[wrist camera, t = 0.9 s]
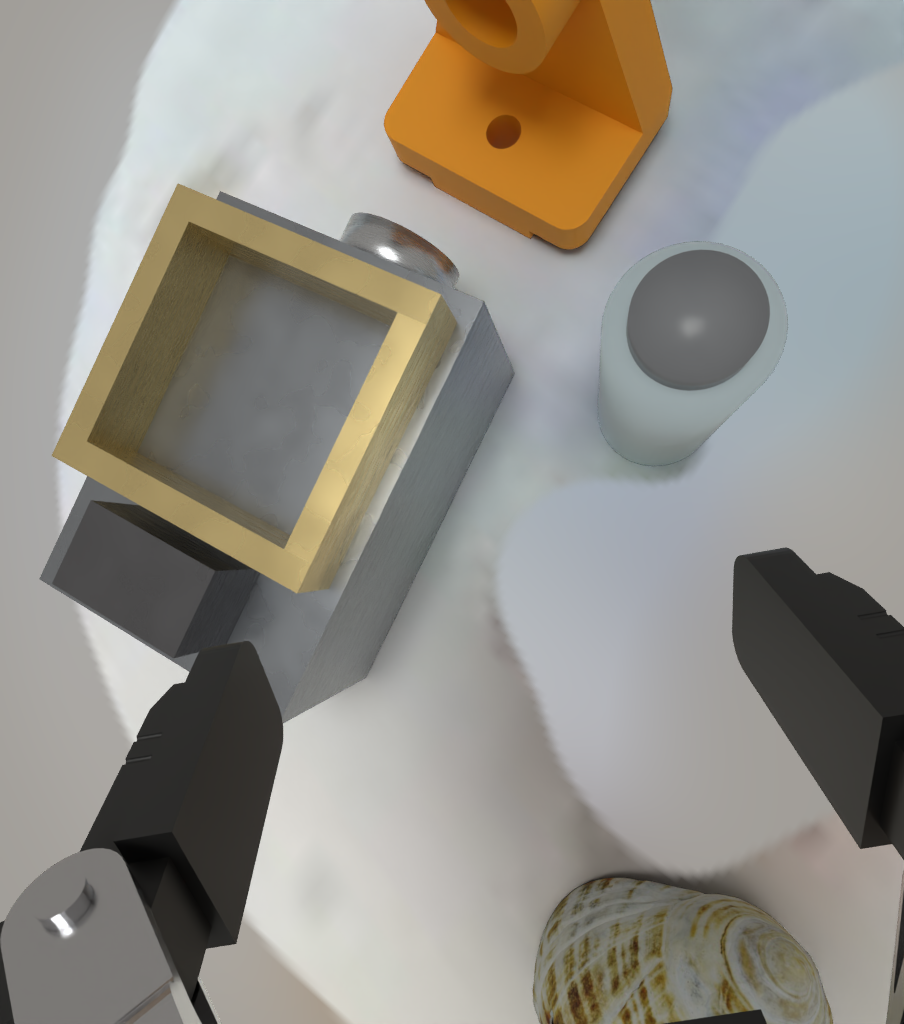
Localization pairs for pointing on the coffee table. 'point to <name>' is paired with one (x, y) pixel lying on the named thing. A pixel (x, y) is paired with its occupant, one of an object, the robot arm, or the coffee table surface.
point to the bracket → (534, 108)
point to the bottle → (685, 348)
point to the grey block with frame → (274, 439)
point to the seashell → (669, 959)
